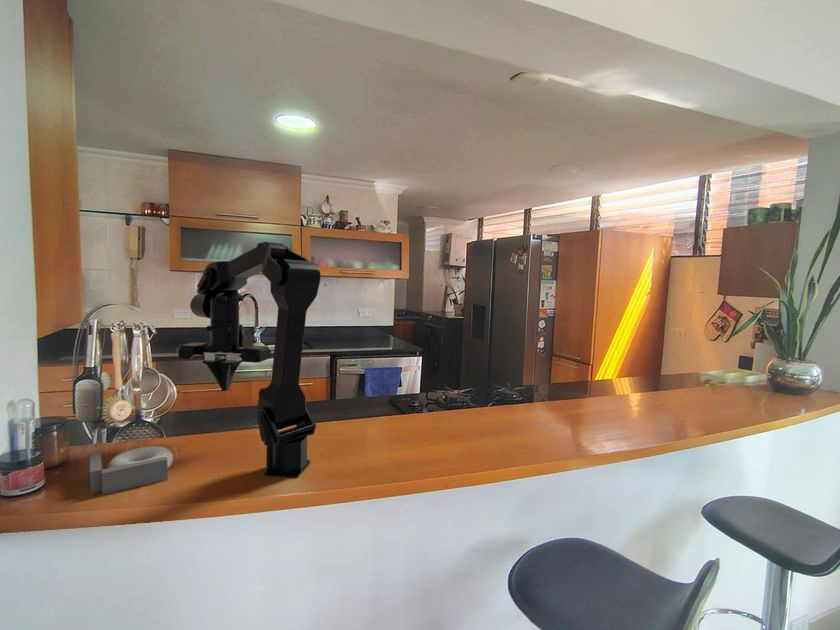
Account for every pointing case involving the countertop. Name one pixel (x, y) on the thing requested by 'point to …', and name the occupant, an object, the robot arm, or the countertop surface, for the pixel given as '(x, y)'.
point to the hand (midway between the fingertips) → (225, 390)
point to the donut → (141, 456)
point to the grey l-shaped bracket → (125, 474)
